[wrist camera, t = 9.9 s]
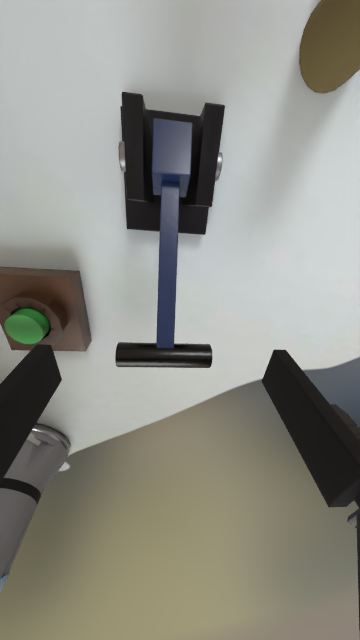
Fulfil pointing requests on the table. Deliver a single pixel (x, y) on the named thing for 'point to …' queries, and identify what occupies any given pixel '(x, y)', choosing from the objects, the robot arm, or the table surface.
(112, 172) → the table surface
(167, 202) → the lever
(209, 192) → the lever bracket
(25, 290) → the switch block
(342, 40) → the tan pawn
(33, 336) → the green button
